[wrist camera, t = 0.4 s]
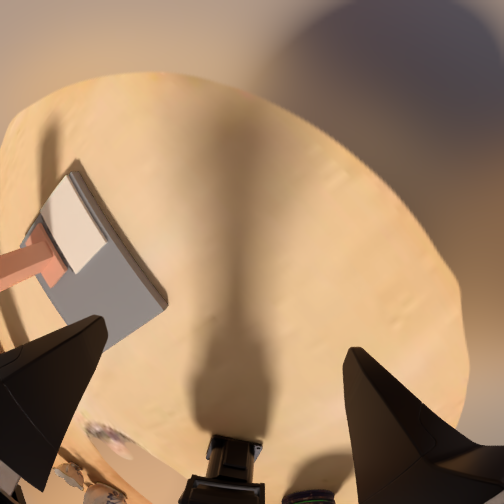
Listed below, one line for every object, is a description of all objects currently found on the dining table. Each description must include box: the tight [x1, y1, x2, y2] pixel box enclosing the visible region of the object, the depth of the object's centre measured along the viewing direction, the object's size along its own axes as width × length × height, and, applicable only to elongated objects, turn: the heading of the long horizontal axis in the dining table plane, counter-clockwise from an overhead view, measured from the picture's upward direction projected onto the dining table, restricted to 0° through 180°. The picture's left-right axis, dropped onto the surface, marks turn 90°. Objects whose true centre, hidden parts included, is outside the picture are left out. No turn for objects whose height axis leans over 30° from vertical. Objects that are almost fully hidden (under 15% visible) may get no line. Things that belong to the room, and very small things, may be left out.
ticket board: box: [20, 171, 168, 353], centre depth 23 cm, size 16×12×2 cm
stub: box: [0, 223, 68, 292], centre depth 17 cm, size 6×4×11 cm, turn 35°
